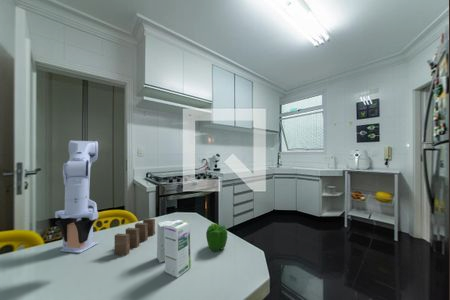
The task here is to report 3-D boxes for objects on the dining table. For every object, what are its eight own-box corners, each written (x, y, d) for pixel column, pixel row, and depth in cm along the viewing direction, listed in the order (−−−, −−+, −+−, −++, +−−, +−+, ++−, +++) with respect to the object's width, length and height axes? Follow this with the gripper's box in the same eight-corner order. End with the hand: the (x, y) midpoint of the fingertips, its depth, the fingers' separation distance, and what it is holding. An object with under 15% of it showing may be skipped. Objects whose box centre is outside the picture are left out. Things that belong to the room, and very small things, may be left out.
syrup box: (177, 278, 52) (177, 228, 52) (164, 271, 55) (164, 224, 55) (191, 267, 56) (190, 222, 57) (178, 262, 60) (177, 218, 60)
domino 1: (79, 248, 55) (80, 225, 55) (66, 247, 56) (67, 224, 56) (84, 245, 56) (85, 223, 57) (72, 244, 57) (72, 222, 58)
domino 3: (136, 247, 70) (136, 230, 70) (125, 246, 71) (125, 229, 71) (139, 245, 71) (139, 228, 72) (128, 245, 72) (128, 227, 73)
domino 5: (152, 235, 81) (152, 220, 81) (143, 234, 81) (143, 219, 82) (154, 234, 82) (154, 218, 82) (145, 233, 83) (145, 218, 83)
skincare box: (159, 263, 59) (159, 226, 60) (156, 257, 63) (156, 222, 63) (177, 257, 63) (177, 222, 63) (173, 251, 66) (173, 219, 67)
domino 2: (126, 255, 64) (126, 236, 65) (114, 254, 65) (114, 235, 66) (129, 253, 66) (129, 234, 66) (117, 252, 67) (117, 233, 67)
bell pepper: (221, 241, 74) (221, 217, 75) (231, 250, 67) (230, 223, 67) (202, 245, 70) (202, 220, 71) (210, 256, 63) (210, 227, 63)
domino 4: (145, 241, 75) (145, 224, 75) (134, 240, 76) (134, 224, 76) (147, 239, 77) (147, 223, 77) (137, 238, 78) (137, 222, 78)
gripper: (44, 200, 54) (43, 245, 53) (83, 201, 51) (82, 249, 51) (68, 195, 61) (67, 235, 60) (104, 196, 58) (103, 238, 58)
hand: (76, 241), depth 56 cm, fingers closed on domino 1, 5 cm apart
